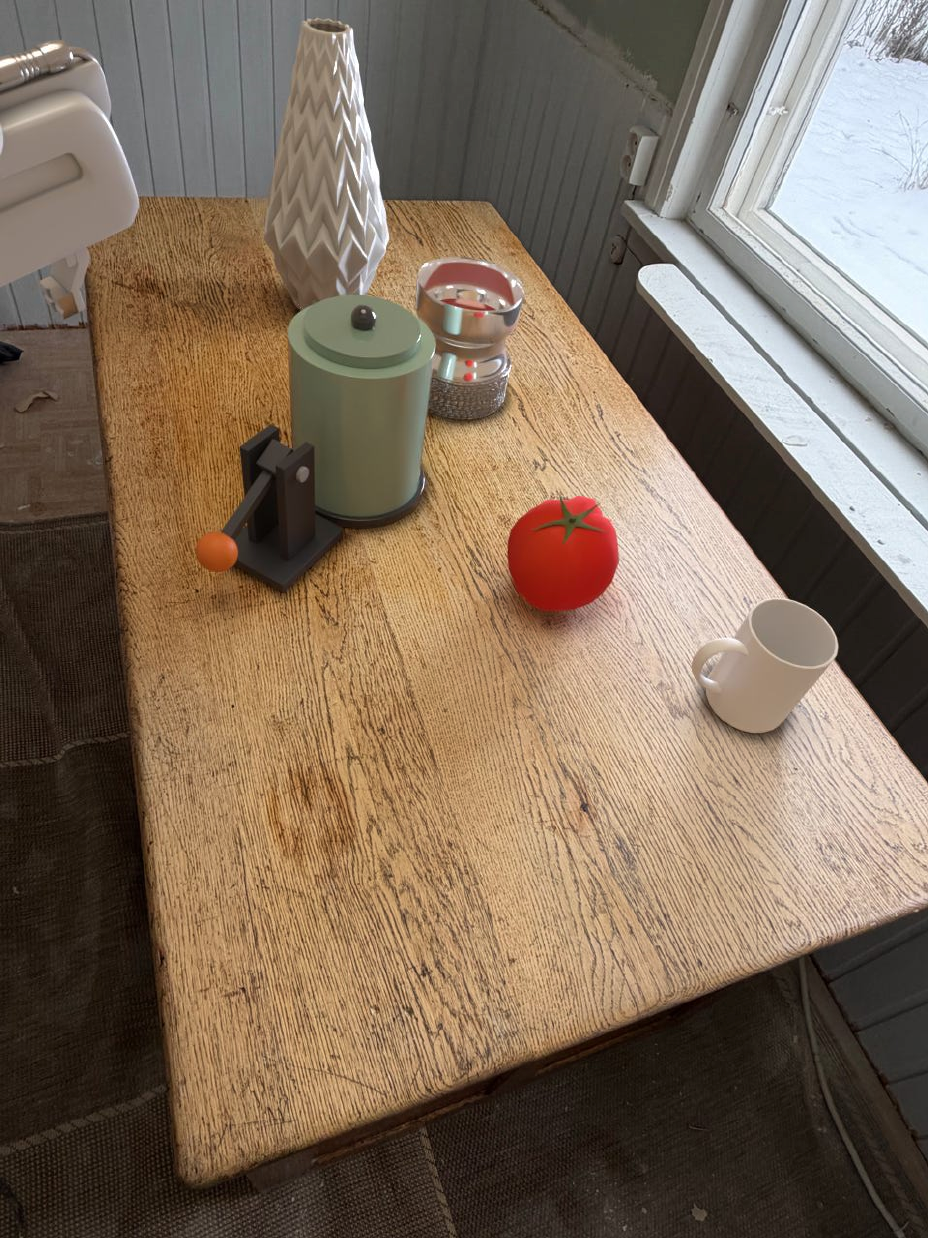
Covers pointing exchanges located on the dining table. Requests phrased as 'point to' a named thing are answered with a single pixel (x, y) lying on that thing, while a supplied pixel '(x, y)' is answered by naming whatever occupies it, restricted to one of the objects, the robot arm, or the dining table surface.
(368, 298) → the green canister
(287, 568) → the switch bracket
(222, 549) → the switch
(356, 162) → the vase
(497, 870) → the dining table surface
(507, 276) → the silver candle holder
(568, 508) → the tomato
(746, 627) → the mug
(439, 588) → the dining table surface
